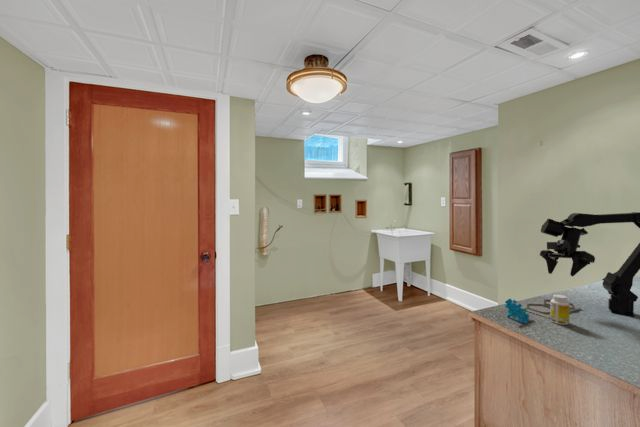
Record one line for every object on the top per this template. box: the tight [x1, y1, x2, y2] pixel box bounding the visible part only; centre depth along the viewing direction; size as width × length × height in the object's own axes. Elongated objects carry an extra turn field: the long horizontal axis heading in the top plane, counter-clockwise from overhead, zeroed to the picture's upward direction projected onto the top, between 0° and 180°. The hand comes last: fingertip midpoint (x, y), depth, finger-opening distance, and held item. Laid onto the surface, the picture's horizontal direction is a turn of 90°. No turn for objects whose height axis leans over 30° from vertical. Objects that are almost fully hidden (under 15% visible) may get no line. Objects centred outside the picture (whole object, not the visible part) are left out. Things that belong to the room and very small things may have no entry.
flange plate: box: [520, 298, 581, 319], centre depth 121 cm, size 22×12×2 cm, turn 113°
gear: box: [504, 298, 531, 325], centre depth 112 cm, size 11×6×10 cm
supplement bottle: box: [549, 294, 570, 326], centre depth 108 cm, size 6×6×10 cm
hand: (560, 274), depth 118 cm, fingers open, 9 cm apart
